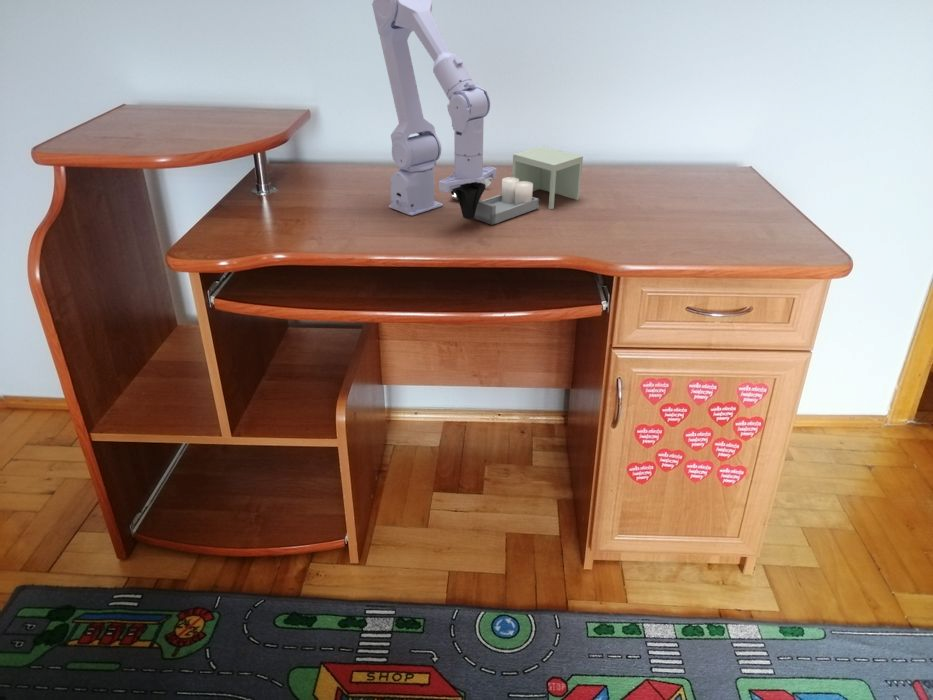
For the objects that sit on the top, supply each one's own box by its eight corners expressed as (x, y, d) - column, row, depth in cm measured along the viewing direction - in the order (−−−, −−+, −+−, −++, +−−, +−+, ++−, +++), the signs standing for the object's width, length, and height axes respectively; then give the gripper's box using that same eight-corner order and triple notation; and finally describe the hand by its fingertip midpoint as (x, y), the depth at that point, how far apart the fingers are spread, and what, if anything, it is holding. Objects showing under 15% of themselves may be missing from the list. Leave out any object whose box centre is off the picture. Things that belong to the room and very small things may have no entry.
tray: (492, 224, 147) (492, 198, 144) (465, 215, 152) (465, 189, 149) (538, 208, 156) (540, 182, 153) (512, 199, 161) (513, 175, 158)
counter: (551, 209, 156) (554, 165, 151) (511, 196, 163) (513, 154, 158) (579, 199, 162) (582, 156, 157) (539, 187, 169) (541, 146, 164)
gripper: (456, 163, 133) (456, 231, 140) (508, 149, 142) (506, 214, 149) (431, 156, 137) (432, 222, 144) (483, 143, 146) (482, 205, 153)
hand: (468, 217), depth 147 cm, fingers closed
